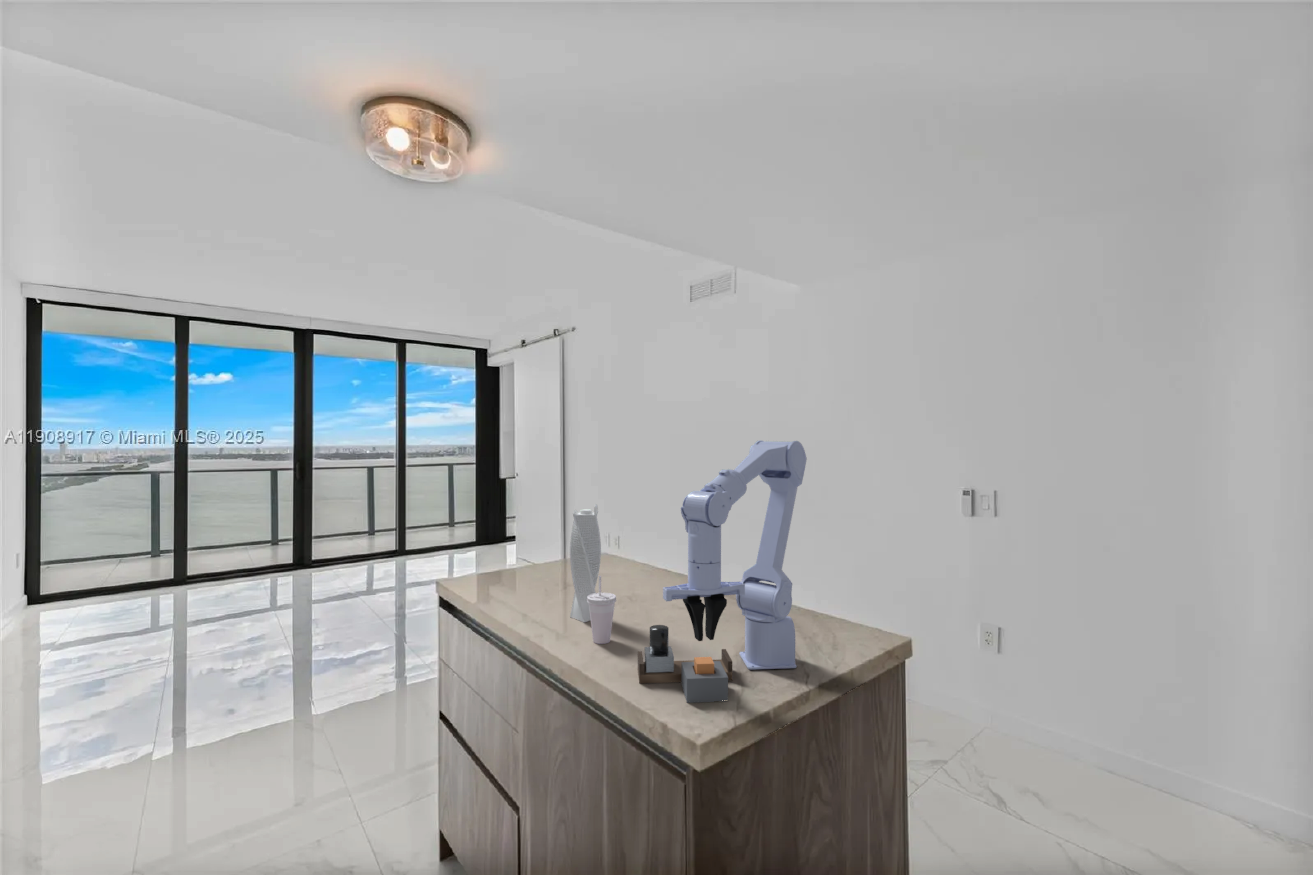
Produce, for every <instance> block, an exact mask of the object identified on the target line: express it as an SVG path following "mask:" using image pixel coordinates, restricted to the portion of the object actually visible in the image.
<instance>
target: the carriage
mask: <svg viewBox="0 0 1313 875" xmlns="http://www.w3.org/2000/svg"><path fill="white" fill-rule="evenodd" d="M674 661H675V656H674V652H673V649H672V646H669V627H668V626H667V625H663V624H654V625H651V626H649V646H645V647H644V662H645V667H646V673H652V672H674Z"/></svg>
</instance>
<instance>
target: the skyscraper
mask: <svg viewBox="0 0 1313 875" xmlns="http://www.w3.org/2000/svg"><path fill="white" fill-rule="evenodd" d="M593 509H594V510H592V509H590V508H585V509H584V508H583V509H580V510H579V512H578V510H577V509H575V510H573V512H572V516H573V517H572V518H573V521H572V522H573V523H572V528H571V536H570V541H569V542H570V543H569V545H570V546H569V559H570V560H569V562H570V571H571V579H572V582H573V583H572V584H573V589H574V594H573V600H572V604H571V610H570V615H569V617H570V618H571V619H574V618H575V619H574V620H576V619H577V621H580V622H582V623H586V622H591V619H590V611H589V603H588V602H587V596H588V595H590V594H594V593H597V592H596V587H597V583H598V582H597V581H598V579H599V572H600V566H601V561H602V560H601V556H602V542H601V533H600V527H599V522H598V521H599V520H598V518H597V517H598V513H599V507H598V504H596V503H595V504H594V506H593Z"/></svg>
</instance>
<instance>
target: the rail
mask: <svg viewBox="0 0 1313 875" xmlns="http://www.w3.org/2000/svg"><path fill="white" fill-rule="evenodd" d="M712 660H713V661H720V662H721V664H722V666H723V668H724V670H725V672H726V674H727V676H728V682H729V681H733V660H732V658H731V656H730V654H729V652H728V651H727V649H726V648H722V649H721V659H712ZM682 662H694V659H692V660H690V659H688V660H674V672H652V673H646V667H645V661H644V657H643V651H641V650H640V651H637V675H638V683H639V684H661V683H662V684H663V683H664V684H666V683H681V663H682Z"/></svg>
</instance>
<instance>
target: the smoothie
mask: <svg viewBox="0 0 1313 875" xmlns="http://www.w3.org/2000/svg"><path fill="white" fill-rule="evenodd" d="M587 602H588V603H589V611H590V619H591V620H590V626H591V634H592V642H593V643H594V644H598V645H599V644H600V645H604V644H608V643H610V642H611V635H612V628H613V620H614V613H615V605H616V604H615V603H616V602H617V595H616V594H614V593H613V592H612V593H611V592H602V575H598V592H596V593H594V594H590V595H588V596H587Z"/></svg>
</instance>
